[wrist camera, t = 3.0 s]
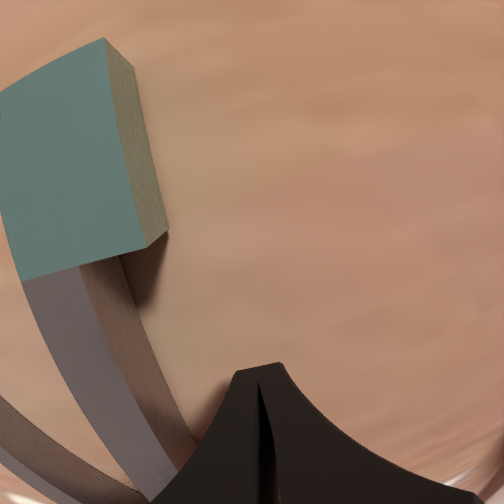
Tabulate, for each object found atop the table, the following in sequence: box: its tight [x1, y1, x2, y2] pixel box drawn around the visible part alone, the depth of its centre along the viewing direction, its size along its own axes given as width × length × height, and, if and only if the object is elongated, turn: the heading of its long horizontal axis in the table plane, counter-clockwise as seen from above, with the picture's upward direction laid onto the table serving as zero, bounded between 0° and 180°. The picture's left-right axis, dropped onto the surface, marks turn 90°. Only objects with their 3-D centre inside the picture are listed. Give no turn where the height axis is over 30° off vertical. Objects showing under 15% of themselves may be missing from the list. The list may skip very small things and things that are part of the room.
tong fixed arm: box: [0, 396, 150, 504], centre depth 10 cm, size 6×22×3 cm, turn 48°
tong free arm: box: [0, 37, 198, 502], centre depth 9 cm, size 19×4×2 cm, turn 13°
